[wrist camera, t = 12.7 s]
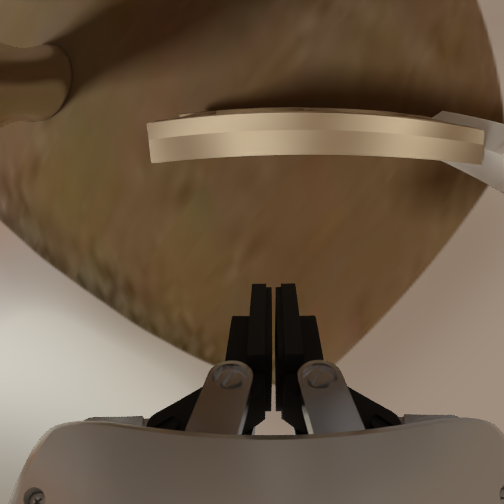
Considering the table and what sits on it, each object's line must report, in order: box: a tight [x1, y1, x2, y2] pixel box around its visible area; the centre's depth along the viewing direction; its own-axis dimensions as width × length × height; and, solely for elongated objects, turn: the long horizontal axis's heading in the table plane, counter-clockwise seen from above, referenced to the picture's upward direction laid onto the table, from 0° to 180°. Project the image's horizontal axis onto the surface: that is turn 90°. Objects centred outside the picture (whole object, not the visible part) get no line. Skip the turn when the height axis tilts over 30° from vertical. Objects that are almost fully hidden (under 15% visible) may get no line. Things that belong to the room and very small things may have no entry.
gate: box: [147, 107, 484, 165], centre depth 15 cm, size 15×2×7 cm, turn 93°
